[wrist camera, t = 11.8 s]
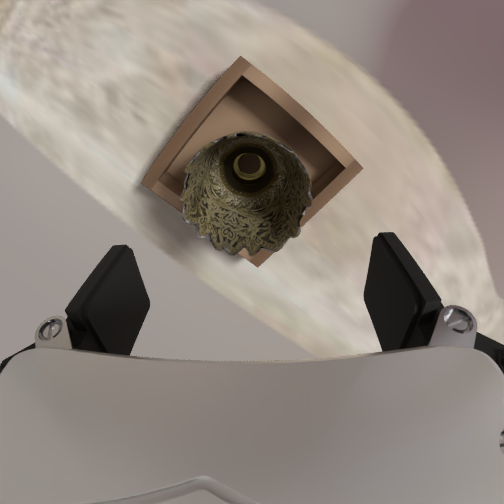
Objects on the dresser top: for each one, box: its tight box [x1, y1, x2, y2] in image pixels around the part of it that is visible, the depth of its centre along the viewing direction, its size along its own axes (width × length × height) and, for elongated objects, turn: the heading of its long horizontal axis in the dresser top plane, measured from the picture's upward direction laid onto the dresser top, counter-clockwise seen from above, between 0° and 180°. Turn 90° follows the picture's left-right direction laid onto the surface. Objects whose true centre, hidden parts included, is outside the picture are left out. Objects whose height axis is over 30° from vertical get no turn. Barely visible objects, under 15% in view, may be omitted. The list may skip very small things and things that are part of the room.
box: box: [141, 56, 363, 267], centre depth 21 cm, size 12×12×3 cm
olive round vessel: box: [180, 131, 313, 257], centre depth 19 cm, size 7×7×8 cm
